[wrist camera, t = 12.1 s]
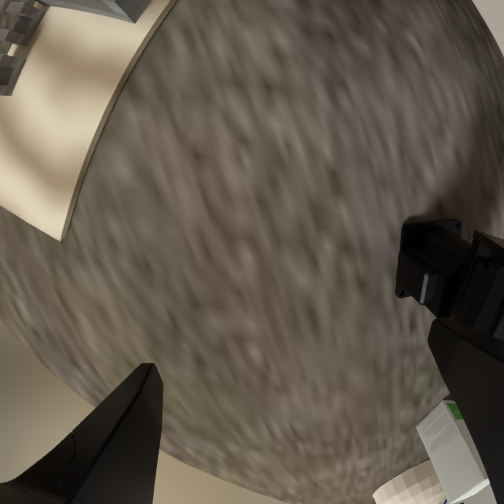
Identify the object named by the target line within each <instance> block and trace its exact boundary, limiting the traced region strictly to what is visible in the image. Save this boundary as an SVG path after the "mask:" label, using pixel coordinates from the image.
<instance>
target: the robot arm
mask: <svg viewBox="0 0 504 504" xmlns="http://www.w3.org/2000/svg"><path fill="white" fill-rule="evenodd" d="M456 224H457V226H456ZM408 228H409V231H408V232H407V229H408ZM461 228H462V222H461V221H460V220H459V219H446V220H436V221H426V222H416V223H407V224H405V225H403V227H402V231H401V244H400V252H399V256H398V266H397V275H396V280H397V282H396V290H395V294H396V296H397V297H398V298H405V297H409V296H412V297H413V298H414V299H415V300H416V301H417V302H418V303H419V304H420V305H425V306H426V307H427V308H428V309H429V310H430V311H431V312H432V313H433V315H434V316H435V317H436V319H434V320H433V322H432V325H431V329H430V332H429V336H428V345H429V347H430V350H431V352H432V354H433V357H434V359H435V361H436V364H437V366H438V368H439V371H440V373H441V376H442V378H443V380H444V382H445V384H446V386H447V388H448V390H449V392H450V394H451V396H452V398H453V400H454V402H455V404H456V406H457V408H458V410H459V412H460V414H461V416H462V418H463V420H464V422H465V424H466V426H467V429H468V431H469V433H470V435H471V437H472V440H473V442H474V444H475V446H476V449H477V451H478V454H479V456H480V458H481V461H482V463H483V466H484V468H485V471H486V474H487V477H488V479H489V482H490V485H491V488H492V490H493V493H494V496H495V499H496V502H497V504H504V240H503V239H500V238H498V237H495V236H492V235H489V234H486V233H484V232H481V231H478V230H475V231H474V234H473V241H472V244H471V243H470V242H468V241H466V240H464V239H463V238H461V237H460V236H461ZM401 291H402V292H401ZM400 292H401V293H400ZM162 410H163V382H162V379H161V377H160V374H159V372H158V370H157V367H156V365H155V364H154V363H142V364H140V365H139V366H138V367H137V368H136V369H135V370H134V371H133V372H132V373H131V374H130V375H129V376H128V377H127V378H126V379H125V380H124V381H123V382H122V383H121V384H120V385H119V386H118V387H117V388H116V389H115V390H114V391H112V392H111V393H110V394H109V395H108V396H107V397H106V398H105V399H104V400H103V401H102V402H101V403H100V404H99V405H98V406H97V407H96V408H95V409H94V410H93V411H92V412H91V413H90V414H89V415H88V416H87V417H86V418H85V419H84V420H83V421H82V422H81V423H80V424H79V425H78V426H77V427H76V428H75V429H74V430H73V431H72V432H73V433H72V432H71V433H69V435H67V436H66V437H65V438H64V439H63V440H62V441H61V442H60V443H59V444H58V445H57V446H56V447H55V448H54V449H52V450H51V451H50V452H49V453H47V455H45V456H44V457H43V458H42V459H40V460H39V461H37V462H36V463H35V464H34V465H32V466H31V467H30V468H28V469H27V470H26V471H24V472H23V473H22V474H21V475H19V476H18V477H16V478H15V479H13V480H11V481H8V482H4V483H0V504H152V502H153V494H154V485H155V477H156V469H157V461H158V454H159V446H160V439H161V432H162Z"/></svg>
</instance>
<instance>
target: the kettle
mask: <svg viewBox="0 0 504 504" xmlns="http://www.w3.org/2000/svg"><path fill="white" fill-rule="evenodd" d="M373 497H374V499H375V501H376V503H377V504H442V503H443V502H444V501H445V502H444V504H445V503H446V501H447V497H446V495H445V492H444V490H443V487H442V485H441V482H440V480H439V478H438V475H437V473H436V471H435V468H434V466H433V464H432V461H431V459H429V460H427V461H424V462H422V463H420V464H418V465H416V466H414V467H412V468H410V469H408V470H406V471H404V472H403V473H401V474H399V475H397V476H396V477H394V478H392V479H391V480H389V481H388V482H386V483H385V484H383V485H382V486H381V487H379V488H378V489H377V490H376V491H375V492H374V494H373ZM461 504H464V503H461Z"/></svg>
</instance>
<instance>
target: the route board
mask: <svg viewBox="0 0 504 504" xmlns="http://www.w3.org/2000/svg"><path fill="white" fill-rule="evenodd" d="M35 1H37V2H36V3H35V5H34V6H31V5H29V4H27V3H23V2H11V3H10V4H9V6H8V8H7V9H6V12H8V13H11V14H13V15H16V16H18V17H19V19H18V21H17V22H16V24H15V26H14V28H13V30H12V31H11V30H7V29H0V40H1V41H5V42H8V43H12V46H11V48H10V50H9V53H8V55H5V54H0V205H1V206H2V207H4V208H6V209H7V210H9V211H10V212H12V213H13V214H15V215H17V216H18V217H20V218H22V219H23V220H25V221H26V222H28V223H30V224H31V225H33V226H35V227H36V228H38V229H40V230H41V231H43V232H45V233H47V234H48V235H50V236H52V237H53V238H55V239H57V240H59V241H61V240H62V239H64V238H65V237H66V235H67V231H68V228H69V224H70V220H71V217H72V213H73V210H74V206H75V203H76V200H77V197H78V193H79V190H80V187H81V184H82V181H83V178H84V176H85V173H86V170H87V167H88V164H89V162H90V159H91V157H92V154H93V151H94V149H95V146H96V144H97V141H98V139H99V137H100V134H101V132H102V130H103V127H104V125H105V123H106V121H107V118H108V116H109V114H110V112H111V110H112V108H113V106H114V103H115V101H116V99H117V97H118V95H119V93H120V91H121V89H122V88H123V86H124V84H125V82H126V80H127V78H128V76H129V74H130V73H131V71H132V69H133V67H134V65H135V64H136V62H137V60H138V59H139V57H140V55H141V53H142V52H143V50H144V49H145V47H146V45H147V44H148V42H149V41H150V39H151V37H152V36H153V34H154V33H155V31H156V30H157V28H158V27H159V25H160V24H161V22H162V21H163V19H164V18H165V17H166V15H167V14H168V12H169V11H170V10H171V8H172V7H173V5H174V4H175V3H176V1H177V0H35Z"/></svg>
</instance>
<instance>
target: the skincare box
mask: <svg viewBox="0 0 504 504" xmlns="http://www.w3.org/2000/svg"><path fill="white" fill-rule="evenodd" d="M416 429H417V431H418V433H419V435H420V437H421V439H422V442H423V444H424V446H425V448H426V450H427V452H428V455H429V457H430V459H431V461H432V464H433V466H434V468H435V471H436V473H437V475H438V478H439V480H440V482H441V485H442V487H443V490H444V492H445V495H446V497H447V500H448V502H449V504H452V503H455V502H457V501H460V500H463V499H465V498H467V497H469V496H472V495H474V494H476V493H477V492H479V491H480V490H481V489H483V488H484V487H485V486H487V485H488V484H489V483H490V482H489V479H488V477H487V474H486V471H485V468H484V466H483V463H482V461H481V458H480V456H479V454H478V451H477V449H476V446H475V444H474V442H473V440H472V437H471V435H470V433H469V431H468V429H467V426H466V424H465V422H464V420H463V418H462V416H461V414H460V412H459V410H458V408H457V406H456V404H455V402H454V401H449V400H442V401H441V402H440V403H439V404H438V405H437V406H436V407H435V408H434V409H433V410H432V411H431V412H430V413H429V414H428V415H427V416H426V417H425V418H424V419H423V420H422V421H421V422H420V423H419V424H418V425H417V426H416Z"/></svg>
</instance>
